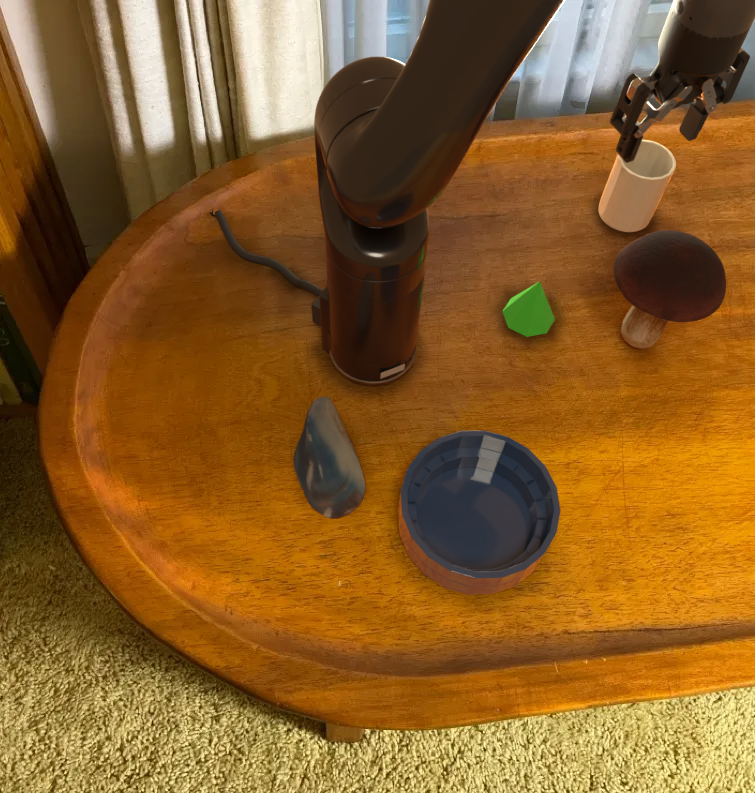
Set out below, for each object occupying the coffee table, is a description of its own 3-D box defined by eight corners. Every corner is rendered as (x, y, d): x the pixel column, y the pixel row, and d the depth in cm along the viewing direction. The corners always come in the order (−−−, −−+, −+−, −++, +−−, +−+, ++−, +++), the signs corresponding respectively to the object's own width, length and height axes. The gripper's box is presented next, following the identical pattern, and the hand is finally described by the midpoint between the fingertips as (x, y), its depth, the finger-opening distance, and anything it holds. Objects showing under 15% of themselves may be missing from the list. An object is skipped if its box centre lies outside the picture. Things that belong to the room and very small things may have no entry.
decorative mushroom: (678, 392, 81) (739, 306, 68) (576, 364, 82) (618, 274, 70) (690, 315, 86) (749, 221, 73) (594, 289, 88) (636, 193, 75)
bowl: (369, 541, 72) (370, 519, 67) (447, 431, 78) (453, 404, 73) (500, 627, 68) (511, 610, 63) (571, 505, 74) (586, 481, 69)
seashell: (341, 531, 69) (386, 431, 68) (261, 486, 72) (303, 390, 71) (366, 525, 75) (408, 433, 74) (292, 484, 78) (331, 395, 77)
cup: (589, 217, 94) (609, 163, 86) (611, 186, 97) (632, 132, 89) (637, 240, 92) (662, 187, 85) (659, 208, 95) (684, 154, 87)
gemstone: (491, 309, 86) (499, 275, 81) (530, 286, 88) (541, 251, 83) (526, 346, 84) (537, 313, 78) (566, 320, 85) (579, 287, 80)
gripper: (676, 51, 68) (622, 187, 82) (799, 12, 71) (727, 149, 85) (627, 5, 71) (584, 143, 85) (747, -30, 75) (686, 108, 88)
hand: (656, 146), depth 85 cm, fingers open, 8 cm apart
